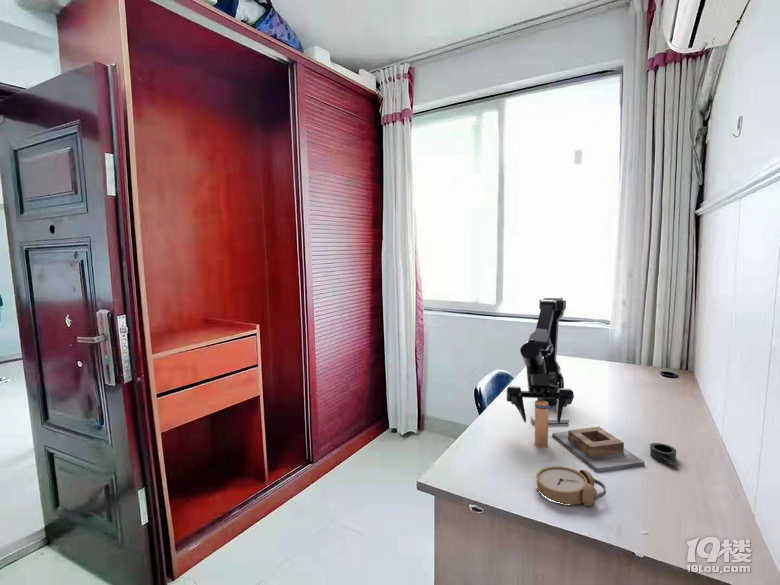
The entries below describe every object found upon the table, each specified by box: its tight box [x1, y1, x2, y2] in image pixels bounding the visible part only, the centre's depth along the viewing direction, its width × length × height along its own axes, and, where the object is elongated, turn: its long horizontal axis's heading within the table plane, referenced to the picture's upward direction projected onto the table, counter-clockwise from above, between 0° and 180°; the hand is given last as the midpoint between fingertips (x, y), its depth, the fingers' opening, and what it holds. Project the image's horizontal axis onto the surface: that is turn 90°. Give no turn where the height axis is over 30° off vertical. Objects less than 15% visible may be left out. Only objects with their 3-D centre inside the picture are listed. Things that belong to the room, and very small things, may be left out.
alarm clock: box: [535, 465, 607, 507], centre depth 93 cm, size 11×5×15 cm
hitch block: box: [551, 426, 646, 473], centre depth 112 cm, size 20×14×4 cm
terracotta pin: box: [534, 399, 550, 449], centre depth 115 cm, size 4×4×13 cm
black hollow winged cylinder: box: [648, 442, 679, 467], centre depth 107 cm, size 8×10×3 cm
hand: (541, 422), depth 114 cm, fingers open, 9 cm apart
